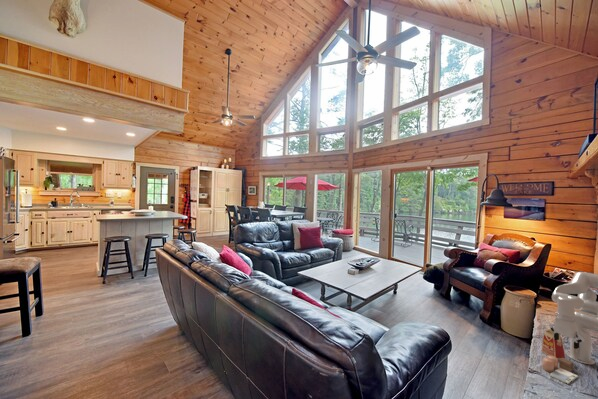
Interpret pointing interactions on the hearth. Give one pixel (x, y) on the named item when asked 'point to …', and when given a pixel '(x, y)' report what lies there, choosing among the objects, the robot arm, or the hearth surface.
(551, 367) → the egg
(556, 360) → the peach egg shape
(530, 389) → the hearth surface
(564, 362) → the brown cube
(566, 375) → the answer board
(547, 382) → the hearth surface
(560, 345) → the milk carton
